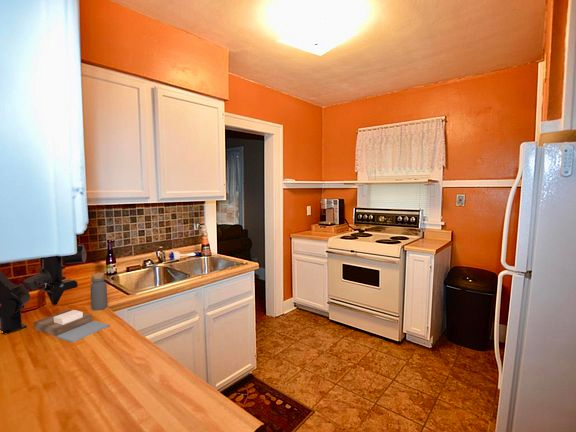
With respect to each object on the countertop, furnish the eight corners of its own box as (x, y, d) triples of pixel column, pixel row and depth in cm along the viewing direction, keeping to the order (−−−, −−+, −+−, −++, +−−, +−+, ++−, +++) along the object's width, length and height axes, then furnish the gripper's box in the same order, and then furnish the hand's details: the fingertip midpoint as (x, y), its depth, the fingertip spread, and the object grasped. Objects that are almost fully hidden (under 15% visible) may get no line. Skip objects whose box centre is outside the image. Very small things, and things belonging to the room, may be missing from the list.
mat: (56, 337, 101) (56, 335, 101) (94, 322, 113) (93, 320, 113) (72, 342, 98) (72, 340, 98) (109, 326, 110) (109, 324, 110)
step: (34, 329, 107) (34, 321, 106) (69, 316, 118) (69, 309, 117) (58, 336, 102) (57, 328, 101) (92, 322, 113) (92, 315, 112)
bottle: (110, 305, 129) (109, 272, 128) (98, 311, 124) (97, 276, 122) (100, 304, 131) (98, 271, 130) (88, 309, 125) (86, 275, 124)
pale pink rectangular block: (53, 322, 106) (53, 317, 106) (74, 314, 113) (73, 309, 112) (62, 324, 104) (62, 319, 104) (82, 317, 111) (82, 311, 111)
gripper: (11, 266, 106) (13, 308, 107) (43, 272, 99) (45, 317, 100) (46, 260, 116) (48, 298, 117) (77, 265, 109) (79, 306, 110)
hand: (54, 305), depth 111 cm, fingers closed
